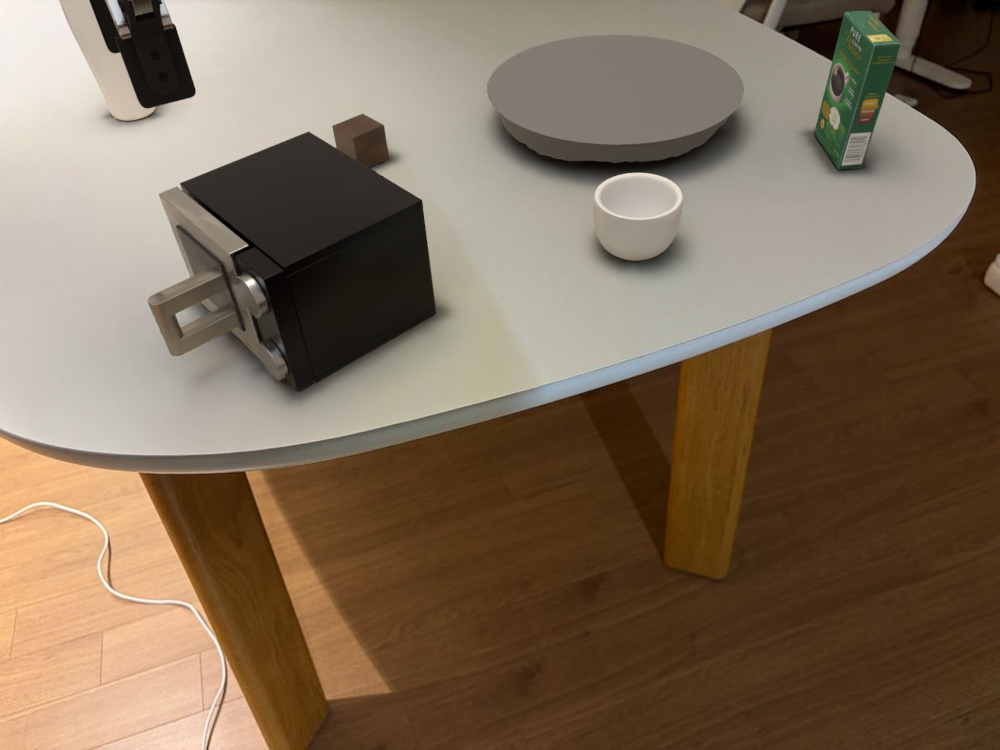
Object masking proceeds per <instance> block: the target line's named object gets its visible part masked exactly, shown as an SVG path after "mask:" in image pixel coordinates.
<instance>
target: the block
mask: <svg viewBox="0 0 1000 750" xmlns="http://www.w3.org/2000/svg"><path fill="white" fill-rule="evenodd" d="M331 128H332V134H333V138H334V143H335V148H337V149H338V150H340V151H342V152H343V153H345V154H347V155H348V156H350V157H352V158H353V159H355V160H357V161H358V162H360V163H362V164H363V165H365V166H367V167H368V168H370V169H371V168H373V167H374V166H377V165H380V164H381V163H384V162H386V161H388V160H390V155H389V148H388V142H387V136H386V128H385V125H384V124H383V123H381V122H379V121H378V120H375V119H373V118H372V117H370V116H368V115H366V114H365V113H361V114H358V115H356V116H353V117H351V118H348V119H346V120H343V121H340V122H339V123H336V124H333V125H332V126H331Z"/></svg>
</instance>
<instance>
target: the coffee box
mask: <svg viewBox="0 0 1000 750" xmlns="http://www.w3.org/2000/svg"><path fill="white" fill-rule="evenodd" d="M901 47H902V42H901V41H900V40H899V39H898V38H897V37H896V36H895V35H894V34H893V33H892V32H891V31H890V30H889V29H888V28H887V27H886V25H884V23H882V21H881V20H880V19H879V18H878V17H877V16H876V15H875V13H873V12H872V11H871V10H852V11H851V10H850V11H844V13H843V17H842V21H841V25H840V29H839V33H838V37H837V41H836V45H835V49H834V51H833V52H834V53H833V56H832V61H831V64H830V69H829V73H828V77H827V81H826V85H825V89H824V91H823V92H824V93H823V96H822V100H821V104H820V108H819V112H818V117H817V120H816V124H815V128H814V131H813V134H814V135H815V137H816V138H817V141H818V143H819V144H821V146H822V147H823V149H824V151H825V152H826V153H827V155H828V156H829V158H830V160H831V162H832V163H833V164H834V166H835V167H836V169H837V170H855V169H862V168H863V164H864V163H865V159H866V155H867V152H868V149H869V147H870V143H871V140H872V138H873V137H872V136H873V134H874V131H875V128H876V124H877V121H878V118H879V115H880V112H881V109H882V106H883V103H884V99H885V96H886V94H887V90H888V87H889V83H890V81H891V77H892V76H893V71H894V69H895V65H896V63H897V59H898V56H899V52H900V50H901Z"/></svg>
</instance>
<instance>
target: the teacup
mask: <svg viewBox="0 0 1000 750" xmlns="http://www.w3.org/2000/svg"><path fill="white" fill-rule="evenodd" d="M683 197H684V196H683V193H682V189H681V188H680V187H679V186H678V185H677V183H675V182H674V181H673V180H670V179H669V178H667V177H664V176H661V175H659V174H654V173H649V172H628V173H622V174H617V175H614V176H612V177H610V178H607V179H606V180H604V181H602V182H601V183H600V184H599V185H598V186H597V188H596V189H595V192H594V195H593V199H592V200H593V201H592V204H593V205H592V210H593V211H592V212H593V213H592V214H593V226H594V231H595V234H596V237H597V239H598V241H599V243H600V244H601V246H602V247H603V249H605V250H606V251H607V252H608V253H609V254H611V255H612V256H614V257H616V258H619V259H622V260H625V261H631V262H632V261H634V262H638V261H644V260H649V259H653V258H655V257H657V256H659V255H661V254H662V253H663V252H664V251H666V250H667V249H668V248H669V247H670V246H671V244H672V243H673V241H674V239H675V237H676V235H677V232H678V229H679V226H680V222H681V219H682V218H681V216H682V212H683V207H684V206H683V205H684V198H683Z"/></svg>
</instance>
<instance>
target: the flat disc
mask: <svg viewBox="0 0 1000 750" xmlns="http://www.w3.org/2000/svg"><path fill="white" fill-rule="evenodd" d="M486 85H487V86H486V93H487V97H488V100H489V102H490V103H491V105H492V107H493V108H494V109H495V110H496V111H497V114H498V116H499V119H500V120H501V121H500V122H501V123H502V125H503V127H504V128H505V130H506V131H507V132H508V133H509V134H510V136H512V137H513V138H514V139H515V140H516V141H518V142H519V143H521V144H525V146H527V148H528V149H531V150H533V151H534V152H535V153H537V154H538V155H540V156H541V155H543V156H547V157H551V158H552V159H556V160H563V161H568V162H584V161H585V162H590V161H595V162H598V163H599V162H603V163H604V162H605V163H607V162H609V163H612V164H617V163H618V164H619V163H625V162H628V163H634V162H639V163H645V162H652V161H663V160H665V159H668V158H674V157H679V156H681V155H683V154H687V153H689V152H690V151H691V150H693V149H695V148H698V147H701V146H702V145H703V144H705V143H706V142H707V141H708V140H709V139H710V138H711V137H713V136H714V135H715V134H716V133H717V131H718V130H719V128H721V127H722V126H723V125H725V124H726V123H727V121H728V119H729V118H730V115H732V114H733V113H734V112H735V111H736V110H737V108H739V106H740V105H741V103H742V100H743V99H744V93H745V87H744V82H743V80H742V78H741V76H740V74H739V73H738V72H737V71H736V69H735V68H734V67H732V65H730V63H728V62H727V61H726V60H724V59H722V58H720V57H719V56H717V55H715V54H713V53H711V52H709V51H707V50H704V49H702V48H699V47H696V46H694V45H690V44H687V43H684V42H680V41H675V40H671V39H666V38H660V37H654V36H645V35H634V34H633V35H632V34H597V35H596V34H595V35H584V36H583V35H582V36H576V37H575V36H574V37H569V38H563V39H559V40H554V41H553V40H552V41H550V42H545V43H541V44H538V45H535V46H532V47H530V48H527V49H525V50H523V51H521V52H518V53H516V54H514V55H513V56H511V57H510V58H507V59H506V60H504V61H503V62H502V63H501V64H500V65H498V66H497V68H496V69H495V70H493V71H492V74H491V75H490V76H489V78H488V82H487V84H486Z"/></svg>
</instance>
